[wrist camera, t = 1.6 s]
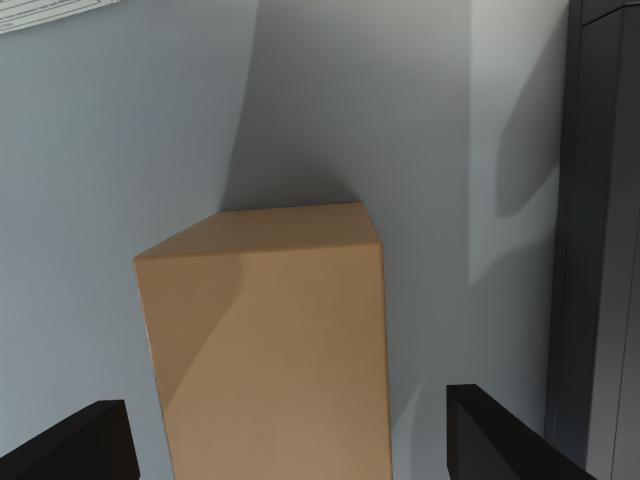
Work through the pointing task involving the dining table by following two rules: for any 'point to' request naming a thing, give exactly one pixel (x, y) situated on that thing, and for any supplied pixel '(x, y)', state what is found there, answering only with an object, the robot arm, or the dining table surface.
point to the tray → (598, 247)
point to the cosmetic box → (41, 11)
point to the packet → (271, 345)
